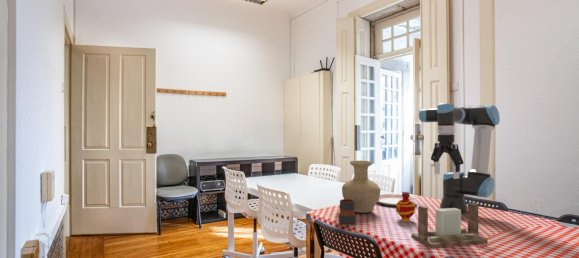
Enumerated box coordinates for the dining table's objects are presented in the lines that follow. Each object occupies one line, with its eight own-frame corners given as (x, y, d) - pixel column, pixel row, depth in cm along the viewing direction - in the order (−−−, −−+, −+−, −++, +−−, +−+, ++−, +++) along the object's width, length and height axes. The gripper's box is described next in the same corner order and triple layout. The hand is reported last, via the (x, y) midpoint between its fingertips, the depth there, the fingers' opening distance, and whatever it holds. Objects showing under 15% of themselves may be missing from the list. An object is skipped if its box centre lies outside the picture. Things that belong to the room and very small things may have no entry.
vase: (383, 209, 199) (383, 160, 199) (375, 218, 179) (375, 164, 179) (348, 205, 209) (348, 159, 209) (336, 213, 189) (336, 162, 189)
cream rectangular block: (454, 233, 148) (454, 207, 148) (461, 237, 144) (461, 210, 144) (435, 235, 146) (435, 209, 146) (441, 238, 142) (442, 211, 142)
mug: (357, 219, 177) (357, 198, 177) (353, 225, 166) (353, 203, 166) (342, 218, 180) (342, 197, 180) (337, 224, 169) (337, 201, 169)
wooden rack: (463, 232, 155) (463, 200, 155) (487, 242, 142) (487, 207, 141) (411, 236, 149) (411, 203, 149) (431, 247, 135) (431, 210, 135)
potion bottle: (417, 223, 170) (417, 194, 170) (396, 222, 172) (397, 194, 172) (414, 217, 180) (414, 191, 180) (394, 216, 182) (394, 190, 182)
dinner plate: (411, 210, 198) (411, 204, 198) (368, 204, 212) (368, 199, 212) (420, 201, 221) (420, 196, 221) (380, 197, 236) (380, 192, 236)
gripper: (423, 133, 174) (423, 172, 174) (458, 135, 149) (458, 181, 150) (435, 133, 175) (435, 172, 176) (471, 134, 151) (472, 179, 152)
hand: (446, 176), depth 163 cm, fingers open, 13 cm apart
